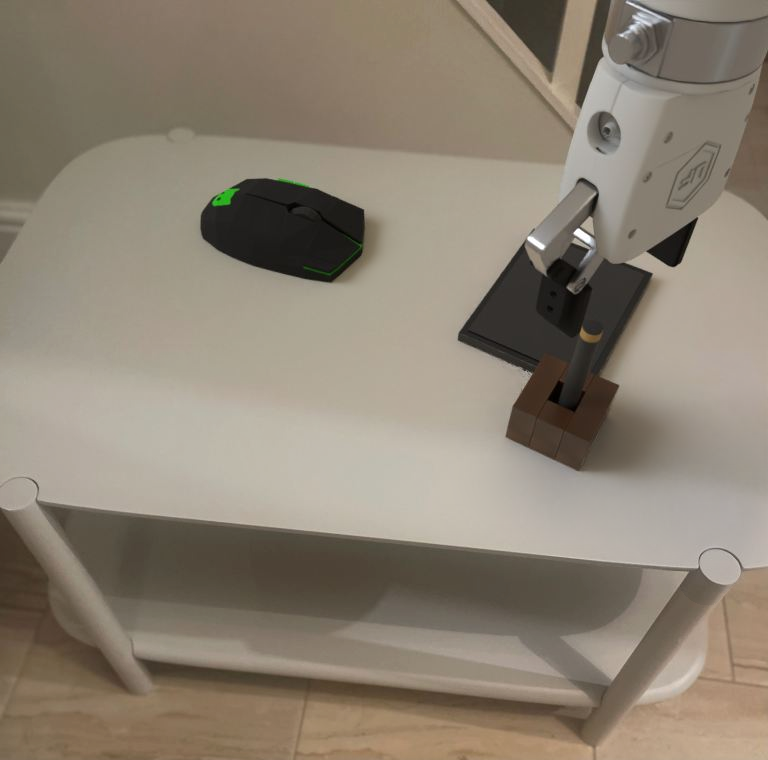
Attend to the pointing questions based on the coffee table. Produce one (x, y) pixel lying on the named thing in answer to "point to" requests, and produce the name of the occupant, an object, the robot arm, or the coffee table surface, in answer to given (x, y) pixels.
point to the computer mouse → (285, 228)
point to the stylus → (580, 363)
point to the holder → (559, 414)
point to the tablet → (534, 333)
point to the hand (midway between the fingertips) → (609, 287)
